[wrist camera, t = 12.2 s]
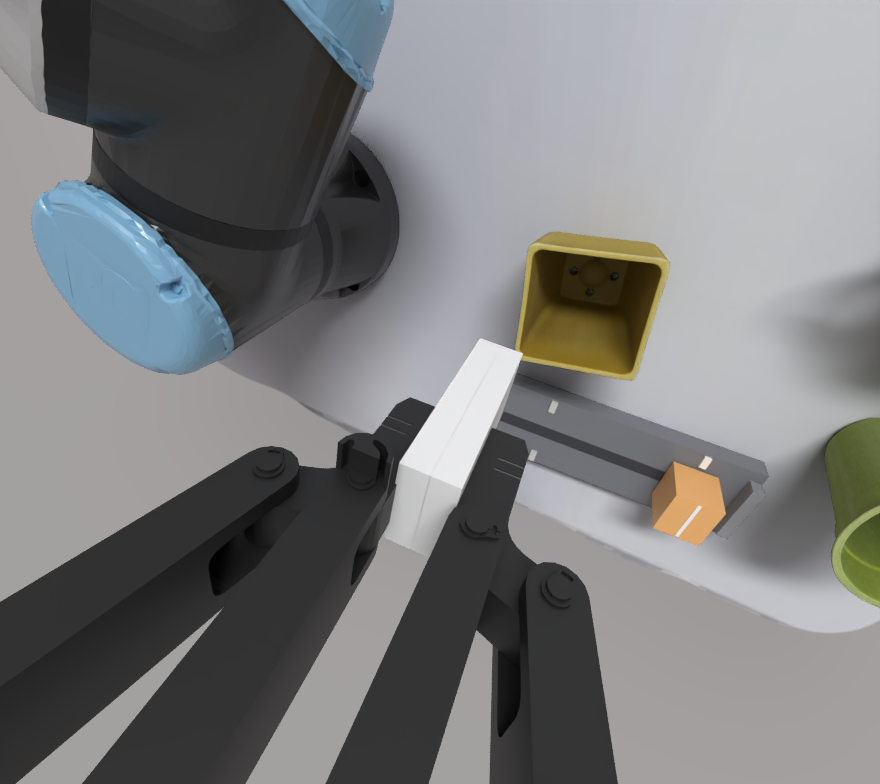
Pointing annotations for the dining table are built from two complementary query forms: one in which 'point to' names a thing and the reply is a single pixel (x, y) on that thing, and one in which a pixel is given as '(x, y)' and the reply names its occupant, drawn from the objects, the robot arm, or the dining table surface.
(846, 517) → the plant pot
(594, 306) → the flower pot
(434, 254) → the dining table surface
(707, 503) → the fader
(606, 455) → the slide potentiometer
